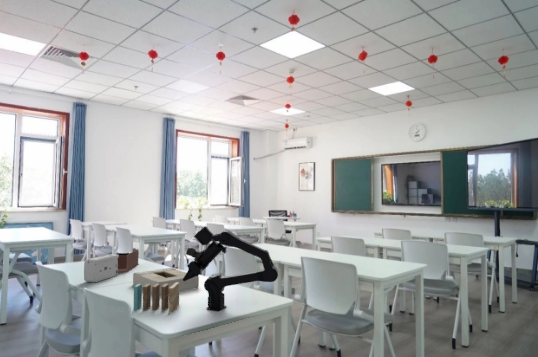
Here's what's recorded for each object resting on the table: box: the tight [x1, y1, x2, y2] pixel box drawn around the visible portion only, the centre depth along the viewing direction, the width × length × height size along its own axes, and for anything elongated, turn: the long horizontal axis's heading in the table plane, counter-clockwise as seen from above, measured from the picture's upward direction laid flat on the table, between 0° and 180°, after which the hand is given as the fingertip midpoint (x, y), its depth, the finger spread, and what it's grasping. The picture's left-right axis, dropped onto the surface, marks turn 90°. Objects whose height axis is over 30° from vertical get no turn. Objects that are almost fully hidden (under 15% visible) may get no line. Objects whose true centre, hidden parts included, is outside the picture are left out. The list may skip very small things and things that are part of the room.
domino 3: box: [151, 284, 161, 311], centre depth 159 cm, size 2×5×10 cm, turn 179°
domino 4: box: [160, 284, 169, 311], centre depth 158 cm, size 2×5×10 cm, turn 179°
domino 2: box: [142, 284, 152, 311], centre depth 159 cm, size 2×5×10 cm, turn 179°
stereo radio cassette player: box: [83, 247, 119, 283], centre depth 217 cm, size 21×8×20 cm, turn 164°
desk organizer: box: [115, 248, 140, 274], centre depth 249 cm, size 10×29×11 cm, turn 5°
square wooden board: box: [168, 282, 180, 313], centre depth 158 cm, size 2×10×10 cm, turn 179°
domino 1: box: [133, 284, 143, 311], centre depth 159 cm, size 2×5×10 cm, turn 179°
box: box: [132, 267, 200, 296], centre depth 198 cm, size 23×8×32 cm
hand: (185, 278), depth 159 cm, fingers open, 6 cm apart
